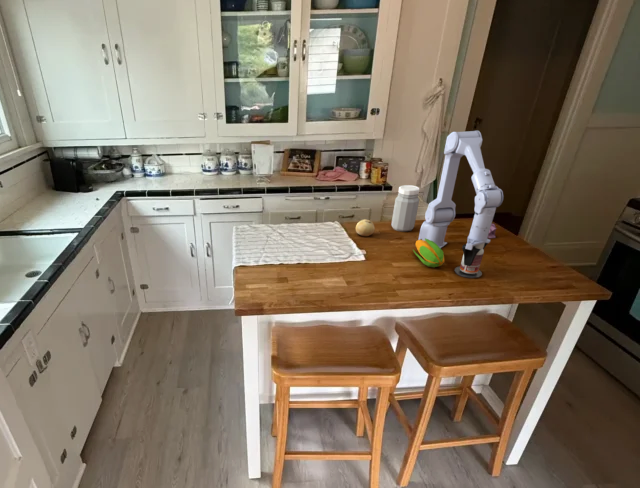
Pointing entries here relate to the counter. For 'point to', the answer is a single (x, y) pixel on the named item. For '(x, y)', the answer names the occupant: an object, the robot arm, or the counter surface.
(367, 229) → the onion
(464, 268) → the pill bottle
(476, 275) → the coaster
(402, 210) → the jar
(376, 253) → the counter surface
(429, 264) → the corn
